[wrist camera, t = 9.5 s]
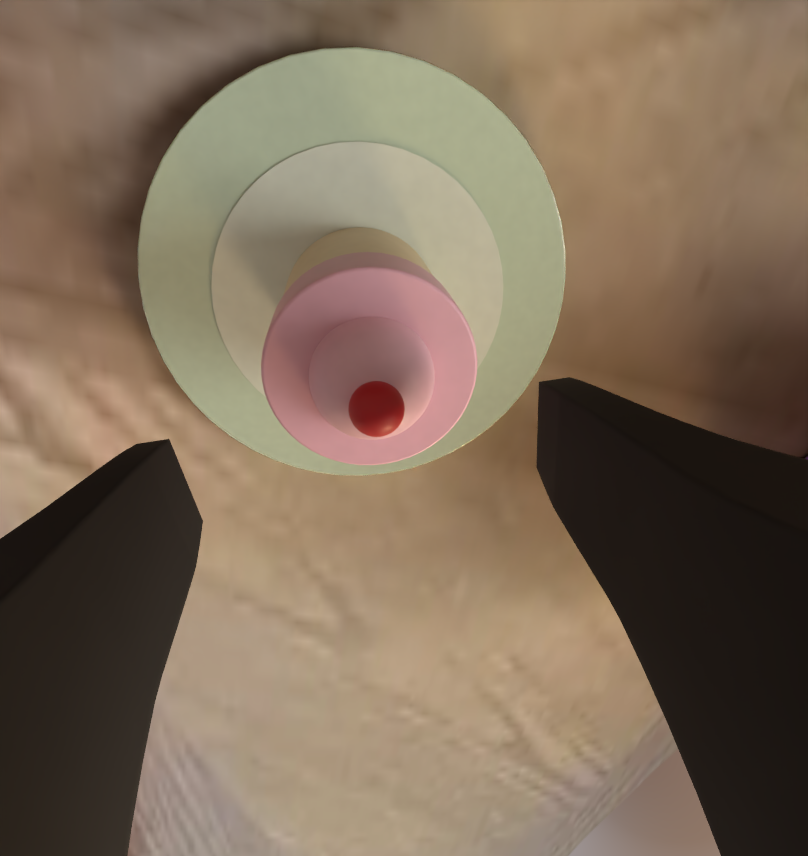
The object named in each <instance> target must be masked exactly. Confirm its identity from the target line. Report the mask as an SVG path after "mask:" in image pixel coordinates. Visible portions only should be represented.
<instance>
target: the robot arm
mask: <svg viewBox="0 0 808 856" xmlns="http://www.w3.org/2000/svg"><path fill="white" fill-rule="evenodd" d="M537 469H538V472H539V474H540V477H541V479H542V482H543V484H544V487H545V489H546V491H547V494H548V496H549V498H550V501H551V503H552V505H553V507H554V509H555V511H556V512H557V514H558V516H559V518H560V519H561V521H562V523H563V524H564V526H565V528H566V529H567V531H568V533H569V534H570V536H571V538H572V539H573V541H574V543H575V544H576V546H577V548H578V549H579V551H580V552H581V554H582V556H583V557H584V559H585V561H586V562H587V564H588V566H589V567H590V569H591V570H592V572H593V574H594V575H595V577H596V579H597V580H598V582H599V584H600V585H601V587H602V588H603V590H604V592H605V593H606V595H607V597H608V598H609V600H610V602H611V604H612V606H613V607H614V609H615V611H616V613H617V615H618V617H619V618H620V620H621V622H622V624H623V627H624V629H625V631H626V633H627V635H628V637H629V639H630V641H631V644H632V646H633V648H634V650H635V652H636V654H637V656H638V658H639V660H640V663H641V665H642V667H643V669H644V671H645V673H646V676H647V678H648V680H649V682H650V685H651V687H652V689H653V691H654V694H655V696H656V698H657V700H658V703H659V705H660V707H661V709H662V712H663V714H664V716H665V718H666V721H667V723H668V725H669V728H670V730H671V732H672V735H673V737H674V740H675V742H676V744H677V747H678V749H679V752H680V754H681V756H682V759H683V761H684V764H685V766H686V768H687V771H688V773H689V776H690V778H691V780H692V783H693V785H694V788H695V790H696V792H697V794H698V797H699V800H700V803H701V805H702V808H703V810H704V813H705V815H706V818H707V821H708V823H709V825H710V828H711V831H712V834H713V836H714V839H715V841H716V844H717V846H718V849H719V851H720V854H721V856H808V460H807V459H803V458H799V457H795V456H791V455H787V454H783V453H780V452H776V451H773V450H769V449H766V448H762V447H758V446H755V445H751V444H748V443H744V442H741V441H738V440H734V439H731V438H728V437H725V436H722V435H719V434H716V433H713V432H710V431H707V430H705V429H702V428H699V427H696V426H693V425H691V424H688V423H685V422H682V421H680V420H677V419H674V418H672V417H669V416H667V415H664V414H661V413H659V412H656V411H654V410H651V409H649V408H647V407H644V406H642V405H639V404H637V403H634V402H632V401H630V400H627V399H625V398H623V397H620V396H618V395H615V394H613V393H611V392H608V391H606V390H603V389H601V388H599V387H596V386H593V385H591V384H588V383H586V382H583V381H580V380H577V379H574V378H570V377H569V378H562V379H556V380H549V381H543V382H539V402H538V435H537ZM202 523H203V520H202V518H201V515H200V513H199V511H198V508H197V506H196V503H195V501H194V498H193V496H192V494H191V491H190V489H189V486H188V484H187V481H186V479H185V477H184V474H183V472H182V469H181V467H180V464H179V462H178V460H177V457H176V455H175V452H174V450H173V447H172V445H171V443H170V440H169V439H166V440H160V441H153V442H147V443H140V444H136V445H134V446H132V447H131V448H129V449H127V450H125V451H124V452H122V453H121V454H119V455H118V456H116V457H115V458H113V459H112V460H110V461H109V462H108V463H106V464H105V465H103V466H102V467H101V468H99V469H98V470H96V471H95V472H94V473H92V474H91V475H90V476H88V477H87V478H85V479H84V480H83V481H81V482H80V483H79V484H77V485H76V486H75V487H73V488H72V489H70V490H69V491H68V492H66V493H65V494H64V495H62V496H61V497H60V498H58V499H57V500H55V501H54V502H53V503H51V504H50V505H49V506H47V507H46V508H44V509H43V510H42V511H40V512H39V513H37V514H36V515H34V516H33V517H31V518H30V519H29V520H27V521H26V522H24V523H23V524H21V525H20V526H18V527H17V528H15V529H14V530H13V531H11V532H10V533H8V534H7V535H5V536H4V537H2V538H1V539H0V856H127V854H128V847H129V841H130V834H131V827H132V821H133V815H134V809H135V804H136V798H137V792H138V786H139V781H140V775H141V769H142V763H143V758H144V753H145V748H146V743H147V738H148V733H149V728H150V723H151V718H152V714H153V709H154V704H155V700H156V696H157V692H158V688H159V685H160V681H161V677H162V674H163V671H164V668H165V664H166V661H167V658H168V655H169V652H170V649H171V645H172V642H173V639H174V636H175V633H176V630H177V627H178V623H179V620H180V617H181V614H182V611H183V608H184V604H185V601H186V598H187V595H188V591H189V588H190V585H191V582H192V578H193V575H194V571H195V568H196V563H197V557H198V551H199V546H200V538H201V531H202Z"/></svg>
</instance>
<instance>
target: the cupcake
mask: <svg viewBox="0 0 808 856" xmlns="http://www.w3.org/2000/svg"><path fill="white" fill-rule="evenodd" d="M261 376H262V383H263V388H264V392H265V395H266V398H267V401H268V403H269V405H270V407H271V409H272V411H273V413H274V415H275V416H276V418H277V419H278V421H279V422H280V424H281V425H282V426H283V427H284V428H285V430H286V431H287V432H288V433H289V434H290V435H291V436H292V437H293V438H295V439H296V440H297V441H298V442H299V443H301V444H302V445H303V446H305V447H307V448H308V449H310V450H311V451H313V452H315V453H317V454H319V455H321V456H323V457H326V458H329V459H332V460H335V461H339V462H343V463H347V464H356V465H379V464H387V463H392V462H397V461H400V460H403V459H406V458H409V457H412V456H414V455H416V454H418V453H420V452H422V451H424V450H426V449H427V448H429V447H431V446H432V445H434V444H435V443H436V442H438V441H439V440H440V439H442V438H443V437H444V436H445V435H446V434H447V433H448V432H449V431H450V430H451V429H452V428H453V426H454V425H455V424H456V423H457V422H458V420H459V419H460V417H461V416H462V414H463V413H464V411H465V409H466V407H467V405H468V403H469V401H470V399H471V396H472V393H473V390H474V386H475V382H476V376H477V351H476V345H475V341H474V337H473V334H472V331H471V329H470V327H469V324H468V322H467V320H466V319H465V317H464V315H463V314H462V312H461V310H460V309H459V307H458V306H457V304H456V303H455V301H454V300H453V298H452V297H451V295H450V294H449V293H448V291H447V290H446V289H445V288H444V286H443V285H442V284H441V283H440V282H439V281H438V280H437V279H436V278H435V277H434V276H433V275H432V273H431V272H430V270H429V269H428V267H427V266H426V264H425V262H424V261H423V259H422V258H421V257H420V256H419V254H418V253H417V252H416V251H415V250H414V249H413V248H412V247H411V246H410V245H409V244H407V243H406V242H404V241H403V240H402V239H400V238H398V237H396V236H394V235H392V234H390V233H387V232H385V231H382V230H378V229H373V228H364V227H357V228H347V229H342V230H338V231H335V232H333V233H330V234H328V235H326V236H324V237H322V238H320V239H319V240H317V241H316V242H314V243H313V244H312V245H311V246H309V247H308V248H307V249H306V250H305V251H304V252H303V254H302V255H301V256H300V257H299V259H298V260H297V262H296V263H295V265H294V267H293V269H292V271H291V273H290V276H289V278H288V282H287V285H286V288H285V291H284V295H283V297H282V298H281V300H280V302H279V304H278V305H277V307H276V310H275V312H274V315H273V317H272V320H271V323H270V326H269V329H268V332H267V335H266V338H265V342H264V347H263V351H262V359H261Z"/></svg>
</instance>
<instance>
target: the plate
mask: <svg viewBox="0 0 808 856" xmlns="http://www.w3.org/2000/svg"><path fill="white" fill-rule="evenodd" d="M357 227H364V228H373V229H378V230H382V231H385V232H387V233H390V234H392V235H394V236H396V237H398V238H400V239H402V240H403V241H404V242H406V243H407V244H409V245H410V246H411V247H412V248H413V249H414V250H415V251H416V252H417V253H418V254H419V256H420V257H421V258H422V259H423V261H424V262H425V264H426V266H427V267H428V269H429V270H430V272H431V273H432V275H433V276H434V277H435V278H436V279H437V280H438V281H439V282H440V283H441V284H442V285H443V286H444V288H445V289H446V290H447V291H448V293H449V294H450V295H451V297H452V298H453V300H454V301H455V303H456V304H457V306H458V307H459V309H460V310H461V312H462V314H463V315H464V317H465V319H466V320H467V322H468V324H469V327H470V329H471V331H472V334H473V337H474V341H475V345H476V351H477V376H476V382H475V386H474V390H473V393H472V396H471V399H470V401H469V403H468V405H467V407H466V409H465V411H464V413H463V414H462V416H461V417H460V419H459V420H458V422H457V423H456V424H455V425H454V426H453V428H452V429H451V430H450V431H449V432H448V433H447V434H446V435H445V436H444V437H443V438H442V439H440V440H439V441H438V442H436V443H435V444H434V445H432V446H431V447H429V448H427V449H426V450H424V451H422V452H420V453H418V454H416V455H414V456H412V457H409V458H406V459H403V460H400V461H397V462H392V463H387V464H379V465H356V464H347V463H343V462H339V461H335V460H332V459H329V458H326V457H323V456H321V455H319V454H317V453H315V452H313V451H311V450H310V449H308V448H307V447H305V446H303V445H302V444H301V443H299V442H298V441H297V440H296V439H295V438H293V437H292V436H291V435H290V434H289V433H288V432H287V431H286V430H285V428H284V427H283V426H282V425H281V424H280V422H279V421H278V419H277V418H276V416H275V415H274V413H273V411H272V409H271V407H270V405H269V403H268V401H267V398H266V395H265V392H264V388H263V383H262V376H261V359H262V351H263V347H264V342H265V338H266V335H267V332H268V329H269V326H270V323H271V320H272V317H273V315H274V312H275V310H276V307H277V305H278V304H279V302H280V300H281V298H282V297H283V295H284V291H285V288H286V285H287V282H288V278H289V276H290V273H291V271H292V269H293V267H294V265H295V263H296V262H297V260H298V259H299V257H300V256H301V255H302V254H303V252H304V251H305V250H306V249H307V248H308V247H309V246H311V245H312V244H313V243H314V242H316V241H317V240H319V239H320V238H322V237H324V236H326V235H328V234H330V233H333V232H335V231H338V230H342V229H347V228H357ZM137 253H138V280H139V286H140V292H141V298H142V304H143V309H144V312H145V315H146V319H147V322H148V325H149V328H150V332H151V335H152V337H153V339H154V341H155V344H156V346H157V348H158V350H159V352H160V355H161V357H162V359H163V361H164V363H165V364H166V366H167V367H168V369H169V371H170V372H171V374H172V376H173V377H174V379H175V380H176V382H177V384H178V385H179V386H180V387H181V389H182V390H183V391H184V392H185V394H186V395H187V396H188V397H189V399H190V400H191V401H192V402H193V404H194V405H195V406H196V407H197V408H198V409H199V410H200V411H201V412H203V413H204V414H205V415H206V416H207V417H208V418H209V419H210V420H211V421H212V422H213V423H214V424H215V425H217V426H218V427H219V428H221V429H222V430H223V431H224V432H226V433H227V434H228V435H230V436H231V437H232V438H234V439H235V440H237V441H239V442H240V443H242V444H244V445H245V446H247V447H249V448H250V449H252V450H254V451H256V452H258V453H260V454H262V455H264V456H267V457H269V458H271V459H273V460H275V461H278V462H281V463H284V464H287V465H290V466H293V467H296V468H300V469H304V470H309V471H313V472H318V473H325V474H334V475H351V476H366V475H376V474H386V473H392V472H396V471H401V470H406V469H410V468H413V467H416V466H420V465H423V464H426V463H429V462H432V461H434V460H436V459H438V458H441V457H443V456H445V455H447V454H450V453H452V452H453V451H455V450H457V449H459V448H460V447H462V446H464V445H465V444H467V443H469V442H471V441H472V440H473V439H475V438H476V437H478V436H479V435H480V434H482V433H483V432H484V431H486V430H487V429H488V428H490V427H491V426H492V425H493V424H494V423H495V422H496V421H497V420H498V419H499V418H500V417H502V416H503V415H504V414H505V413H506V412H507V411H508V410H509V409H510V407H511V406H512V405H513V404H514V403H515V402H516V400H517V399H518V398H519V397H520V396H521V395H522V393H523V392H524V390H525V389H526V387H527V386H528V385H529V383H530V382H531V380H532V379H533V377H534V376H535V374H536V372H537V371H538V369H539V367H540V365H541V363H542V361H543V359H544V357H545V355H546V353H547V351H548V348H549V346H550V343H551V341H552V338H553V335H554V333H555V330H556V327H557V323H558V319H559V315H560V311H561V307H562V301H563V293H564V285H565V244H564V237H563V229H562V222H561V218H560V214H559V211H558V207H557V203H556V200H555V196H554V193H553V191H552V188H551V186H550V183H549V181H548V179H547V176H546V174H545V172H544V169H543V167H542V165H541V163H540V162H539V160H538V158H537V157H536V155H535V153H534V152H533V150H532V148H531V147H530V145H529V144H528V142H527V140H526V139H525V138H524V136H523V135H522V134H521V133H520V131H519V130H518V129H517V128H516V127H515V125H514V124H513V123H512V122H511V120H510V119H509V118H508V117H507V116H506V115H505V114H504V113H503V112H502V111H501V110H500V109H499V108H498V107H497V106H496V105H495V104H493V103H492V102H491V101H490V100H489V99H488V98H487V97H486V96H485V95H484V94H483V93H481V92H480V91H478V90H477V89H475V88H474V87H472V86H471V85H469V84H468V83H466V82H465V81H463V80H462V79H460V78H459V77H457V76H456V75H454V74H452V73H450V72H448V71H446V70H443V69H441V68H439V67H437V66H435V65H433V64H431V63H429V62H426V61H424V60H421V59H417V58H414V57H410V56H407V55H404V54H400V53H397V52H393V51H387V50H379V49H371V48H363V47H338V48H321V49H316V50H311V51H306V52H301V53H296V54H291V55H288V56H285V57H282V58H280V59H277V60H274V61H272V62H269V63H266V64H264V65H261V66H258V67H256V68H255V69H253V70H251V71H249V72H248V73H246V74H244V75H242V76H241V77H239V78H237V79H236V80H234V81H232V82H230V83H229V84H227V85H226V86H225V87H223V88H222V89H221V90H220V91H219V92H217V93H216V94H215V95H214V96H212V97H211V98H210V99H209V100H208V101H206V102H205V103H204V104H203V105H201V107H200V108H199V109H198V110H197V111H196V112H195V113H194V115H193V116H192V117H191V118H190V119H189V120H188V121H187V122H186V124H185V125H184V126H183V127H182V128H181V129H180V130H179V132H178V133H177V135H176V137H175V138H174V140H173V141H172V143H171V145H170V146H169V148H168V149H167V151H166V152H165V154H164V156H163V157H162V159H161V161H160V164H159V166H158V168H157V170H156V173H155V175H154V177H153V180H152V182H151V184H150V186H149V189H148V193H147V197H146V201H145V204H144V208H143V212H142V216H141V221H140V230H139V239H138V248H137Z"/></svg>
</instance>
